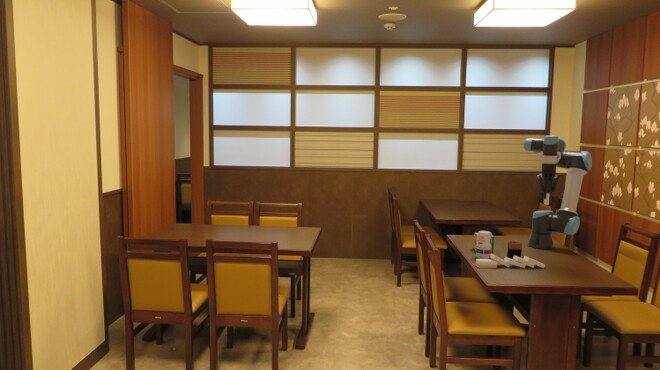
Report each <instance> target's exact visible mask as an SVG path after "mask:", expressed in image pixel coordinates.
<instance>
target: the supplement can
mask: <svg viewBox="0 0 660 370" xmlns="http://www.w3.org/2000/svg"><path fill="white" fill-rule="evenodd" d="M476 233H477V246H476V251H475V257H476V259H492V258H491V257H490V255H491V245H492V236H493V234H492V232H491V231H488V230H478V232H476Z"/></svg>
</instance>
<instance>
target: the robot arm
mask: <svg viewBox="0 0 660 370" xmlns="http://www.w3.org/2000/svg"><path fill="white" fill-rule="evenodd" d="M566 148H567V143H566V140H564V139H563V138H562V139H561V138H559V136H558V135H544V137H543V138H534V137H531V138H526V139H524V142H523V149H524V150H525V151H526V152H533V153H535V154H538V156H540V157H542V159H541V161H542V163H541V172H540V173H539V174H537V175H536V178H537V181H538V187H539V191H540V192H541V193H542V199H543V204H544V205H545V206H549V205H550V199H551V196H552V195H551V194H553V193H555V192H556V189H557V188H556V187H557V185H558V182H559V179H560V178H561V176H560V175H558V174H557V172H556V171H557V168H560V169H566V172H567V173H568V174H567V178H566V181H565V187H564V191H563V196H562V201H561V204H560V205H561V206H560V208H559V209H558V210H557V211H556V213H555V212H554V211H553V210H548V209H546V210H543V209H542V210H537V211H536V210H535V211H534V212H533V213H532V222H531V233H530V236H529V238H528V241H527V245H528V246H529V247H531V248H534V249H540V250H551V249H552V250H553V248H554V245H555V243H554V241H553V237H552V233H557V234H562V235H569V236H570V235H571V236H572V235H573V236H574V234H576V233H577V232H578V230H579V228H580V226H581V225H580V224H581V219H580V216H578V215H579V214H578V213H577V207H578V203H579V198H580V192H581V189H582V183H583V180H584V176H585V175H587V173H588V171H591V170H592V168H593V159H592V155H591V152H589V151H584V150H566Z"/></svg>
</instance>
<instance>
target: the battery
mask: <svg viewBox="0 0 660 370" xmlns="http://www.w3.org/2000/svg"><path fill="white" fill-rule="evenodd" d="M522 251H523V243H522V242H520V240H517V241H514V240H510V241H508V242H507V252H506V253H507V254H506V257H507V258H510V259H513V257H514V255H515V256H518V257H520V258H522ZM513 260H514V259H513Z"/></svg>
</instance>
